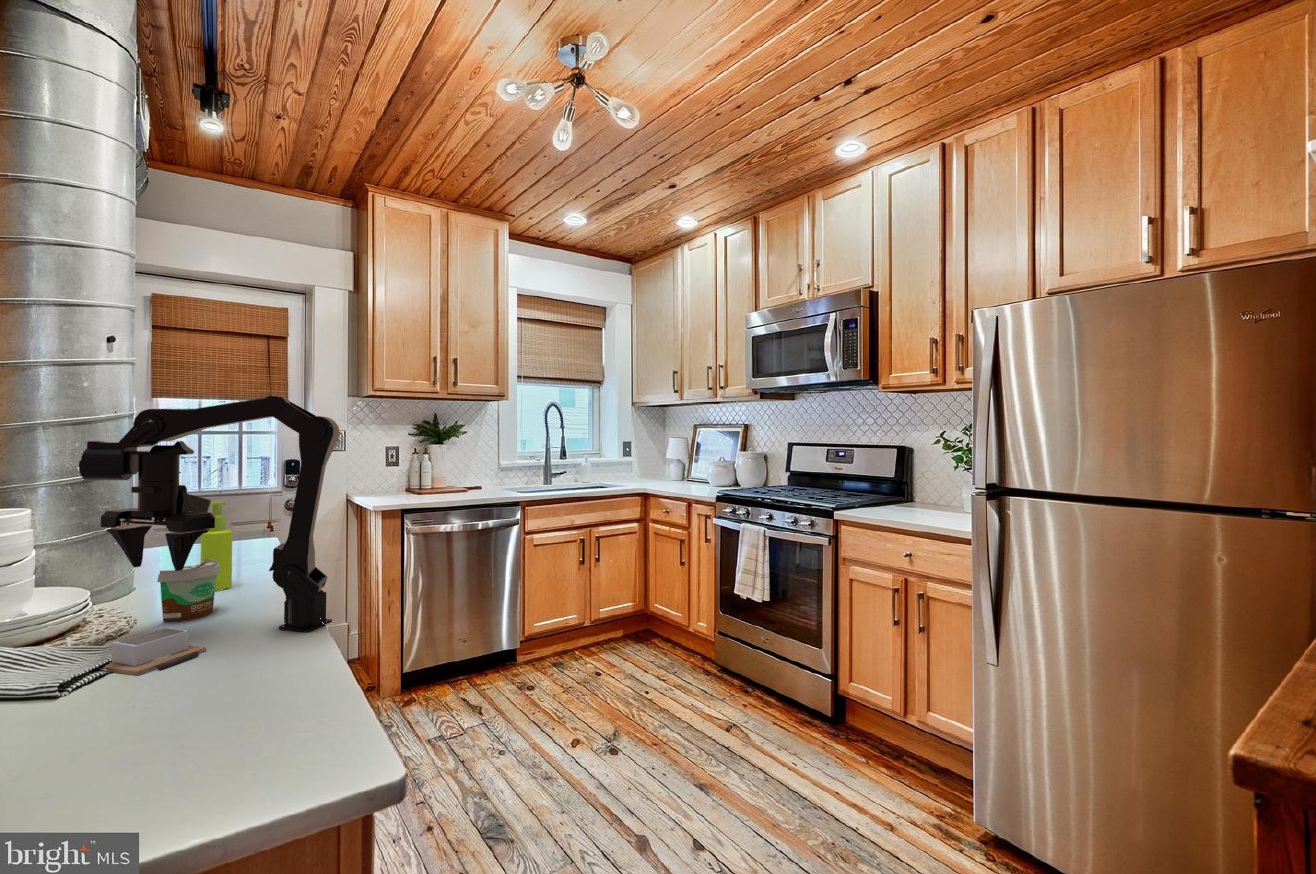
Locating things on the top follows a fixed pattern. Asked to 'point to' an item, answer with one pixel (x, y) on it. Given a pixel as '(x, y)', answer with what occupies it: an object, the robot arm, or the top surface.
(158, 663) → the cutting board
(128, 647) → the white rectangular block
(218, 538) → the soap dispenser
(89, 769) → the top surface
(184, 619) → the food container
